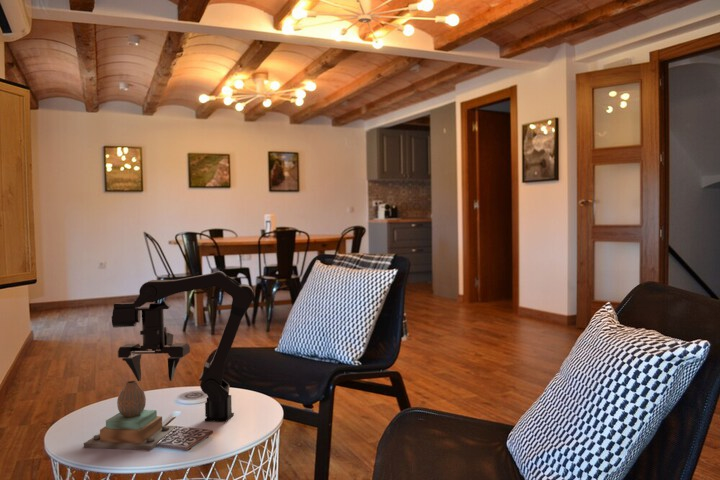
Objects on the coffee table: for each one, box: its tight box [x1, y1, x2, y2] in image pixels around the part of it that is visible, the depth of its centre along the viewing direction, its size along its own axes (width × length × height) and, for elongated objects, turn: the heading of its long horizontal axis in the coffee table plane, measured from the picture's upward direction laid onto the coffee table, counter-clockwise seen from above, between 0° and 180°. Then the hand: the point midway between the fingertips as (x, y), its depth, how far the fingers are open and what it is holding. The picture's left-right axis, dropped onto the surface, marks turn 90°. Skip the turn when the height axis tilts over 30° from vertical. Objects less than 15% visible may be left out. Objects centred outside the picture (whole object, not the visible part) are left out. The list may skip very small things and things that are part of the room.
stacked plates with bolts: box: [83, 409, 178, 451], centre depth 146 cm, size 18×14×6 cm
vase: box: [116, 380, 147, 418], centre depth 146 cm, size 7×7×9 cm
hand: (155, 380), depth 157 cm, fingers open, 9 cm apart
